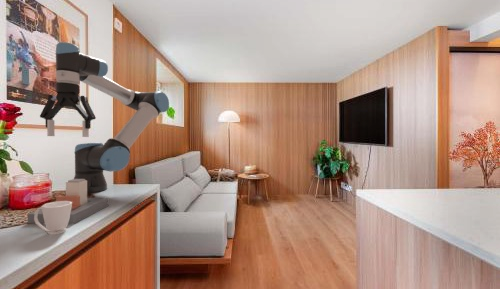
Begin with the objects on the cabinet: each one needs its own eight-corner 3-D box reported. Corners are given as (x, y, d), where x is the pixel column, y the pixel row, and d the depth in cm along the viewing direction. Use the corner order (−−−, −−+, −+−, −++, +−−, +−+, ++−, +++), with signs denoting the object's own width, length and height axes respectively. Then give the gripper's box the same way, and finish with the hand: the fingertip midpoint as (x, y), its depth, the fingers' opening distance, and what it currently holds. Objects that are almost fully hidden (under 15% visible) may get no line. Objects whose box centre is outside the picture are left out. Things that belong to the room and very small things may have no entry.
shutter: (59, 205, 85) (59, 195, 85) (80, 205, 85) (80, 195, 85) (42, 212, 78) (42, 200, 78) (65, 212, 78) (65, 201, 78)
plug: (65, 213, 86) (65, 180, 86) (74, 209, 91) (74, 178, 90) (79, 213, 86) (79, 181, 86) (87, 209, 91) (87, 178, 90)
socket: (71, 205, 96) (71, 197, 96) (108, 205, 97) (108, 197, 97) (27, 223, 76) (27, 213, 76) (73, 223, 77) (73, 214, 77)
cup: (59, 237, 67) (59, 207, 67) (23, 235, 67) (23, 206, 67) (78, 227, 74) (78, 200, 74) (45, 226, 74) (45, 200, 74)
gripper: (27, 80, 94) (28, 135, 95) (94, 82, 95) (94, 137, 96) (43, 84, 101) (43, 135, 102) (105, 86, 102) (105, 137, 103)
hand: (68, 136), depth 99 cm, fingers open, 13 cm apart
